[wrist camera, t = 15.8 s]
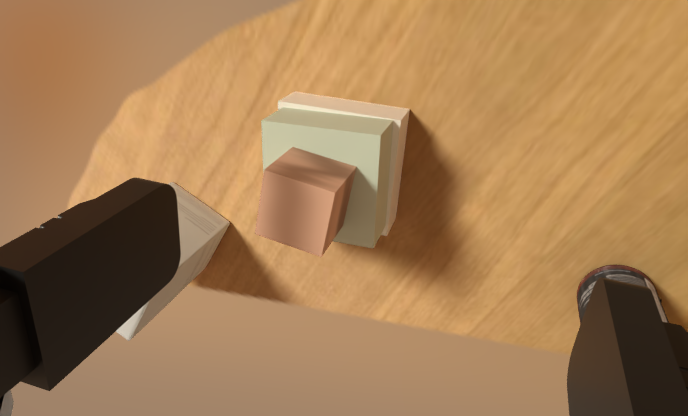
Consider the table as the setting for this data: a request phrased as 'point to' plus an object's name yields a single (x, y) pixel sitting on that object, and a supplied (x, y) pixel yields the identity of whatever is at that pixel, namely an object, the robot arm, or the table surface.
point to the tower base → (365, 110)
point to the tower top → (345, 146)
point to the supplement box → (183, 255)
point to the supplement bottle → (617, 274)
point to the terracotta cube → (304, 200)
